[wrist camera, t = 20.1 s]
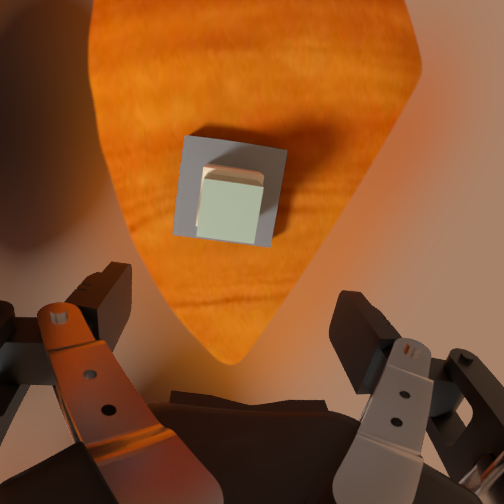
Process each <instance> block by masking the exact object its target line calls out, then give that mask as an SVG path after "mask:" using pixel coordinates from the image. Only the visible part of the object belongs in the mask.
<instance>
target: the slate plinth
mask: <svg viewBox="0 0 504 504" xmlns="http://www.w3.org/2000/svg"><path fill="white" fill-rule="evenodd" d="M287 153H288V150H284V149H278V148H273V147H267V146H261V145H255V144H249V143H242V142H235V141H228V140H221V139H213V138H206V137H197V136H188V135H185V138H184V145H183V152H182V159H181V166H180V174H179V182H178V190H177V199H176V208H175V217H174V227H173V235H178V236H186V237H193V238H201V239H209V240H216V241H224V242H232V243H239V244H247V245H255V246H262V247H271V241H272V236H273V231H274V225H275V220H276V214H277V209H278V203H279V198H280V192H281V187H282V181H283V175H284V170H285V164H286V158H287ZM207 163H208V164H215V165H223V166H230V167H236V168H243V169H250V170H256V171H259V172H260V173H262V174H263V175H264V181H263V187H264V189H263V195H262V200H261V206H260V212H259V218H258V223H257V229H256V235H255V241H254V244H249V243H242V242H234V241H227V240H219V239H212V238H204V237H197V236H196V234H197V226H196V218H197V210H198V203H199V195H200V188H201V181H202V174H203V167H204V166H205V165H206V164H207Z"/></svg>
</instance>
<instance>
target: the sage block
mask: <svg viewBox="0 0 504 504" xmlns="http://www.w3.org/2000/svg"><path fill="white" fill-rule="evenodd" d="M263 189H264V187H263V186H262V184H261V183H260V182H259V181H258V180H252V179H245V178H238V177H232V176H224V175H217V174H210V173H207V174H206V176H205V177H204V181H203V188H202V195H201V202H200V210H199V218H198V226H197V234H196V236H197V237H204V238H212V239H219V240H227V241H234V242H242V243H249V244H254V241H255V235H256V229H257V223H258V218H259V212H260V206H261V200H262V195H263Z"/></svg>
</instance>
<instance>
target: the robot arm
mask: <svg viewBox="0 0 504 504" xmlns="http://www.w3.org/2000/svg"><path fill="white" fill-rule="evenodd" d="M131 297H132V267H131V264H126V263H119V262H111V263H110V264H109V265H108V266H107V267H106V268H105V269H104V271H103V272H102V273H100V272H96V273H94V274H92V275H90V276H87V277H86V278H85V280H84V281H83V282H82V283H81V284H80V285H79V286H78V287H77V290H76V289H75V290H74V292H73V293H72V294H71V295H70V296H69V297H68V298H67V299H66V301H65V302H56V303H50V304H47V305H45V306H44V307H42V308H41V309H40V310H39V311H38V313H37V317H15V312H14V307H13V305H12V304H11V303H9V302H7V301H2V300H0V445H1V443H2V441H3V439H4V437H5V435H6V432H7V430H8V428H9V426H10V424H11V422H12V420H13V418H14V416H15V414H16V412H17V410H18V408H19V406H20V404H21V402H22V400H23V398H24V396H25V395H26V393H27V391H28V389H29V387H30V385H52V388H53V390H54V393H55V396H56V399H57V402H58V405H59V407H60V410H61V412H62V415H63V417H64V420H65V422H66V425H67V427H68V430H69V433H70V435H71V438H72V440H73V442H74V444H73V445H71V446H69V447H68V448H66V449H64V450H62V451H60V452H58V453H57V454H55V455H53V456H51V457H49V458H48V459H46V460H44V461H42V462H40V463H38V464H37V465H34V466H33V467H31V468H29V469H27V470H25V471H23V472H21V473H19V474H17V475H15V476H13V477H11V478H9V479H7V480H6V481H4V482H2V483H1V484H0V504H504V387H503V386H502V385H501V383H500V382H499V381H498V380H497V379H496V377H495V376H494V375H493V374H492V373H491V372H490V371H489V370H488V368H487V367H486V366H485V365H484V364H483V363H482V362H481V360H480V359H479V358H478V357H477V356H475V355H474V354H472V353H471V352H469V351H467V350H464V349H458V348H456V349H452V350H451V351H450V353H449V355H448V357H447V359H446V360H441V359H436V358H431V352H430V350H429V349H428V348H427V347H426V346H425V345H424V344H422V343H420V342H418V341H416V340H413V339H409V338H402V337H401V336H400V334H399V333H398V332H397V331H396V329H395V328H394V327H393V326H392V325H391V324H390V322H389V321H388V320H387V319H386V317H385V316H384V315H383V314H382V313H381V312H380V310H378V309H377V308H375V307H374V306H372V305H371V304H370V303H369V302H368V300H367V299H366V298H365V297H364V295H363V294H362V293H361V292H356V291H345V290H343V291H341V293H340V294H339V297H338V300H337V303H336V307H335V310H334V313H333V317H332V320H331V324H330V327H329V338H330V341H331V343H332V345H333V347H334V349H335V351H336V353H337V355H338V357H339V359H340V362H341V363H342V366H343V368H344V370H345V372H346V374H347V376H348V378H349V380H350V382H351V384H352V386H353V388H354V390H355V392H356V394H370V395H371V396H370V398H369V400H368V402H367V404H366V406H365V408H364V410H363V412H362V414H361V416H360V418H359V420H358V421H357V420H355V419H353V418H351V417H349V416H346V415H343V414H341V413H337V412H333V411H328V408H327V406H326V403H325V401H324V400H286V401H280V402H274V403H267V404H260V405H246V404H242V403H238V402H234V401H230V400H227V399H223V398H219V397H215V396H212V395H205V394H196V393H187V392H179V391H171V395H170V401H165V402H157V403H151V404H147V405H146V404H145V402H144V401H143V399H142V398H141V396H140V395H139V394H138V392H137V391H136V389H135V388H134V386H133V385H132V383H131V382H130V380H129V379H128V377H127V376H126V374H125V373H124V371H123V369H122V368H121V366H120V365H119V363H118V362H117V360H116V358H115V357H114V355H113V353H112V352H113V350H114V348H115V346H116V344H117V342H118V339H119V337H120V335H121V333H122V331H123V329H124V327H125V325H126V323H127V321H128V319H129V316H130V312H131V303H132V298H131ZM464 397H465V398H466V399H467V401H468V402H469V404H470V405H471V407H472V410H473V417H472V419H471V421H470V423H469V424H468V426H467V427H466V426H465V425H464V423H463V422H462V420H461V419H460V417H459V416H458V414H457V412H456V410H457V408H458V407H459V405H460V403H461V402H462V400H463V399H464ZM425 431H426V432H427V433H428V435H429V437H430V439H431V441H432V443H433V445H434V447H435V449H436V451H437V452H438V455H439V457H440V458H441V461H442V463H443V464H444V467H445V468H446V471H447V473H448V475H449V476H450V478H449V477H447V476H446V475H444V474H442V473H441V472H439V471H437V470H435V469H434V468H432V467H430V466H429V465H427V464H425V463H424V462H423V457H421V449H422V445H423V440H424V436H425Z"/></svg>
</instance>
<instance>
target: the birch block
mask: <svg viewBox="0 0 504 504" xmlns="http://www.w3.org/2000/svg"><path fill="white" fill-rule="evenodd" d="M207 173H210V174H217V175H224V176H232V177H238V178H245V179H252V180H258V181H259V182H260V183H261V184H262V186H263V181H264V175H263V174H262V173H260V172H259V171H256V170H250V169H243V168H236V167H230V166H223V165H215V164H208V163H207V164H206V165H205V166H204V167H203V174H202V181H201V188H200V195H199V203H198V210H197V218H196V226H198V218H199V210H200V202H201V195H202V188H203V181H204V177H205V176H206V174H207Z"/></svg>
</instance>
